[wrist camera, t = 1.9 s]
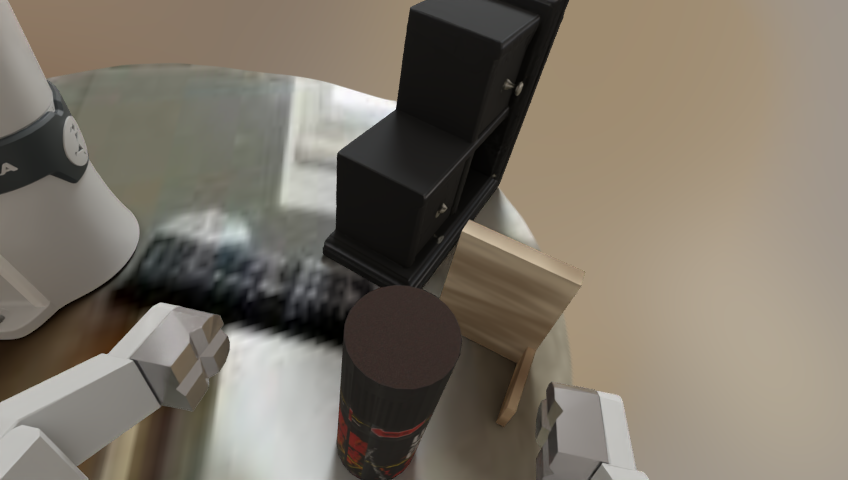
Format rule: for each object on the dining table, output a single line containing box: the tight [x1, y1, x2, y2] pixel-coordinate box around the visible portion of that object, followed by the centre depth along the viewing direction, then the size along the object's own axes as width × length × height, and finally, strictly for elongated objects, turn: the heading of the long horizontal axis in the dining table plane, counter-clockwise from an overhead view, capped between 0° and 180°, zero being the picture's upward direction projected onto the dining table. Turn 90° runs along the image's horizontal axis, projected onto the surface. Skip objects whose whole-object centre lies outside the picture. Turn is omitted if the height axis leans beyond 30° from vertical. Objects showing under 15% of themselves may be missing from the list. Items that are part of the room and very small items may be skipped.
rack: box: [440, 220, 585, 427], centre depth 33 cm, size 8×9×12 cm
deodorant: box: [337, 285, 462, 480], centre depth 27 cm, size 6×6×15 cm
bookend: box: [323, 0, 569, 289], centre depth 42 cm, size 23×11×24 cm, turn 151°
